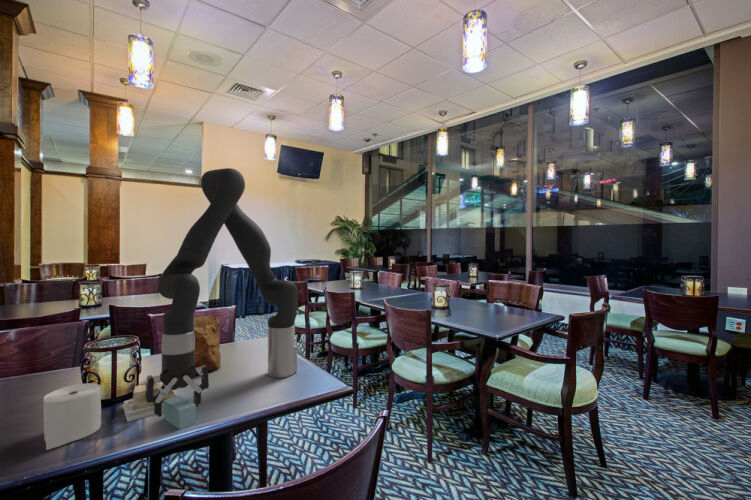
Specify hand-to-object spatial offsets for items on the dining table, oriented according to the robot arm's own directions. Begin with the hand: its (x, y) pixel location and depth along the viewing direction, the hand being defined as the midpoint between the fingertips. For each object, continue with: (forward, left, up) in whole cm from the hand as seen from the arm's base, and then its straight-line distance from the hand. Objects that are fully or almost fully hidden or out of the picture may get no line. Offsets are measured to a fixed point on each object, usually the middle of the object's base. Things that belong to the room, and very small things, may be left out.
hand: (178, 410), depth 91 cm
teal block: (0, 0, -3) cm, 3 cm away
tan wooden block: (+4, -13, -2) cm, 14 cm away
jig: (+4, -13, -3) cm, 14 cm away
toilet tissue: (+21, -10, -3) cm, 23 cm away
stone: (-11, -33, -3) cm, 35 cm away
